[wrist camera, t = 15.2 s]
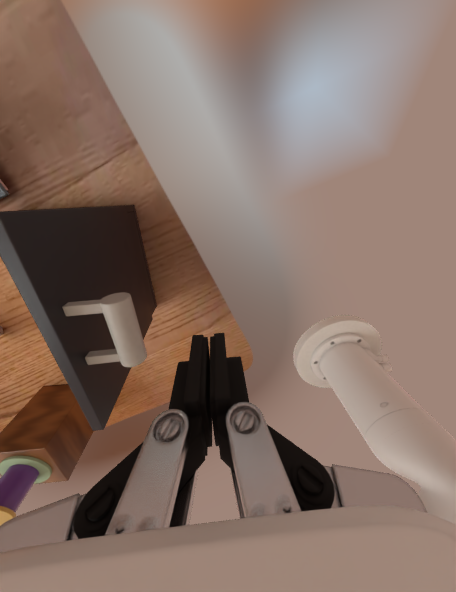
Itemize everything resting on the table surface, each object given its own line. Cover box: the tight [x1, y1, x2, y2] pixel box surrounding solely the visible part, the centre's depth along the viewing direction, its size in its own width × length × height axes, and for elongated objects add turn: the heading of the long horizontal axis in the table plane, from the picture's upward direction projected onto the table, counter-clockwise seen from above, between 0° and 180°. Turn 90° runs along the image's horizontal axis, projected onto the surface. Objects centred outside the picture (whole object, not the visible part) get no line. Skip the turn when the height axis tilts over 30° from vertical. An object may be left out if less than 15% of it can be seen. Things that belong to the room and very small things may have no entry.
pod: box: [0, 464, 39, 526], centre depth 29 cm, size 5×5×5 cm
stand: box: [0, 384, 93, 484], centre depth 37 cm, size 9×9×12 cm
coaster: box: [0, 456, 52, 484], centre depth 31 cm, size 7×7×1 cm
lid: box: [0, 205, 152, 431], centre depth 20 cm, size 16×16×5 cm
